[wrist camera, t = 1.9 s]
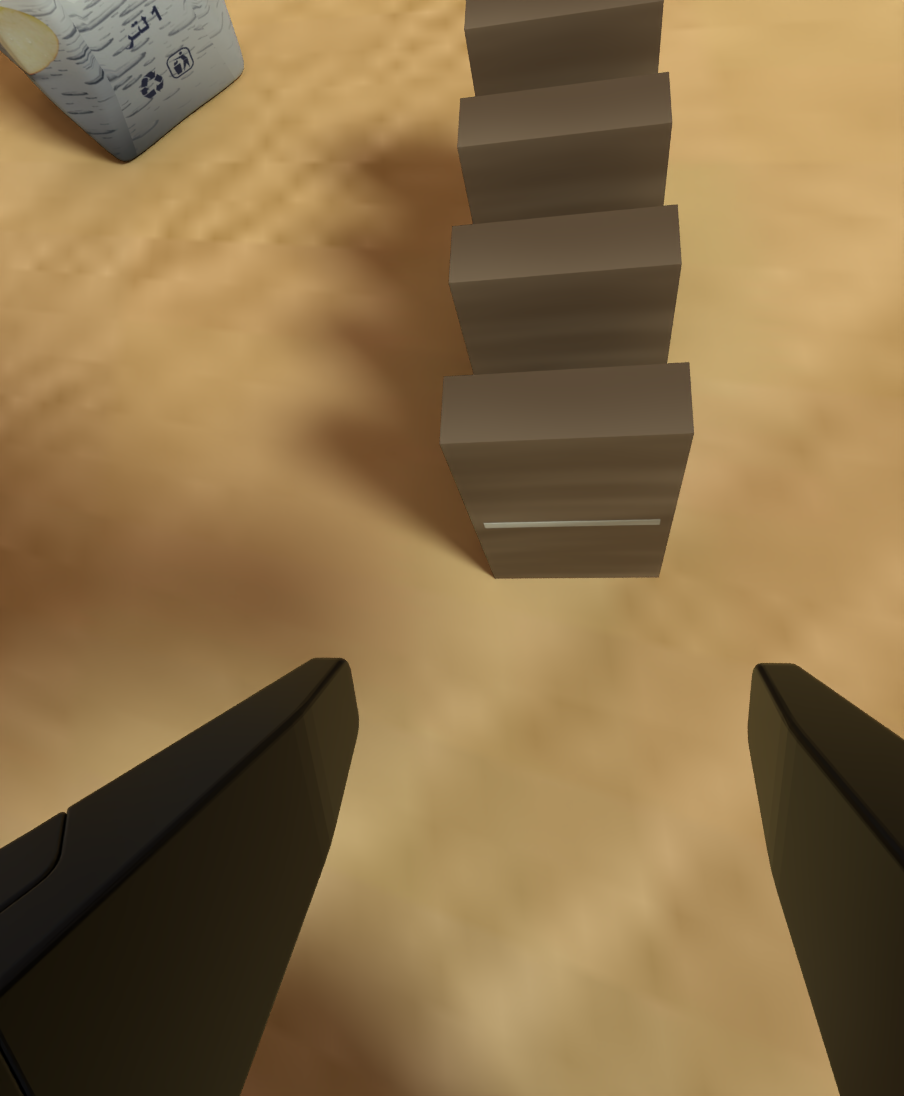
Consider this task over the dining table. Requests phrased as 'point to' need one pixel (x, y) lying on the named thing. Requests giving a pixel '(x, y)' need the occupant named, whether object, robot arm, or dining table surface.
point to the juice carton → (123, 62)
